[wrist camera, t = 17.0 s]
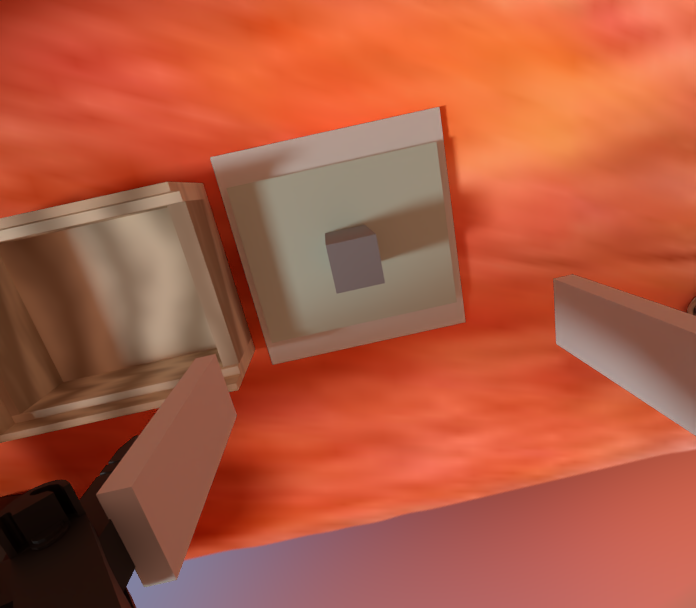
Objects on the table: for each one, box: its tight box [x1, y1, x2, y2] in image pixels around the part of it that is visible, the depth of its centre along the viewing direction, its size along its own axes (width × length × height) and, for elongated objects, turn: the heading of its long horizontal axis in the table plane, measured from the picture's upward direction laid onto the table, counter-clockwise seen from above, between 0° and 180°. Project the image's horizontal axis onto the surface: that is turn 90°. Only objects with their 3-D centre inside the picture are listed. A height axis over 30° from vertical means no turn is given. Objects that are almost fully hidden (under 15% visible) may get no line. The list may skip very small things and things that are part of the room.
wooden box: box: [0, 182, 255, 443], centre depth 35 cm, size 22×18×9 cm
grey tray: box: [210, 107, 465, 365], centre depth 39 cm, size 22×22×1 cm
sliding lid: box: [226, 142, 457, 343], centre depth 34 cm, size 20×16×9 cm
